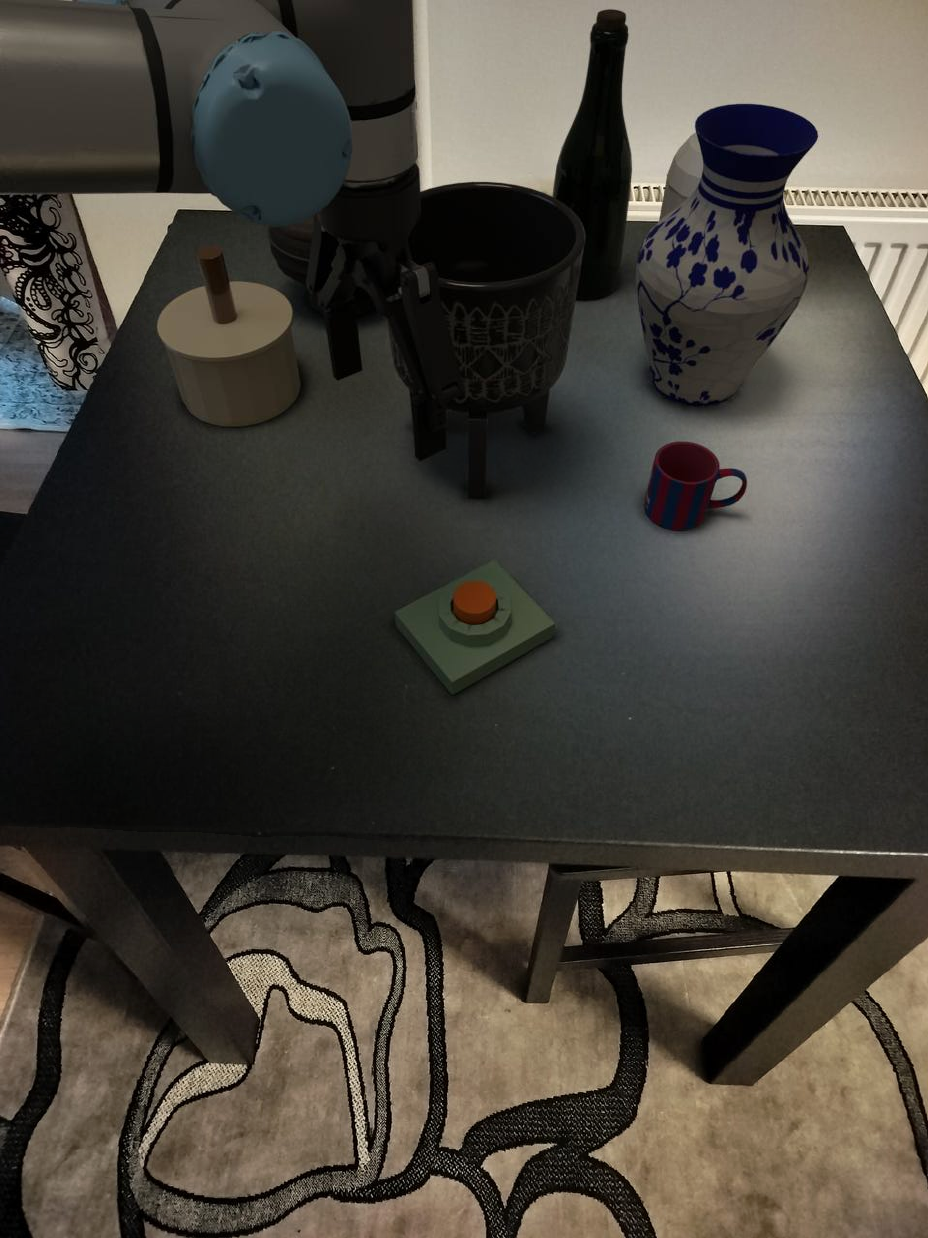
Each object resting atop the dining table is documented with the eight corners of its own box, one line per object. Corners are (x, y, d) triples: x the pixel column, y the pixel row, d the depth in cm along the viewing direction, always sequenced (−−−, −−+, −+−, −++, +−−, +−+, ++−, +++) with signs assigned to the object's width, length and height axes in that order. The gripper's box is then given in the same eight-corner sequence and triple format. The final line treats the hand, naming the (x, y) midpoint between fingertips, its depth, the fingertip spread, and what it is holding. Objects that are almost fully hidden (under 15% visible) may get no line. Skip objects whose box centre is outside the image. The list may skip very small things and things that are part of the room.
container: (742, 304, 120) (784, 155, 104) (645, 293, 121) (672, 144, 106) (744, 255, 128) (783, 109, 112) (653, 245, 129) (679, 100, 114)
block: (452, 695, 80) (451, 671, 77) (395, 625, 85) (392, 600, 82) (553, 636, 84) (557, 611, 81) (493, 573, 89) (494, 547, 86)
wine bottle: (617, 263, 126) (656, -3, 100) (618, 303, 120) (660, 30, 94) (546, 260, 127) (567, -6, 101) (542, 299, 120) (564, 26, 94)
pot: (267, 266, 125) (253, 119, 109) (389, 261, 128) (392, 119, 113) (280, 339, 114) (266, 188, 98) (412, 332, 118) (419, 185, 102)
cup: (648, 483, 97) (659, 436, 92) (738, 500, 96) (754, 453, 90) (639, 523, 93) (650, 477, 88) (732, 542, 92) (749, 495, 86)
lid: (192, 383, 94) (170, 307, 87) (139, 316, 102) (114, 242, 95) (317, 336, 100) (306, 261, 93) (257, 276, 108) (243, 203, 100)
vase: (725, 326, 116) (791, 80, 93) (798, 411, 105) (894, 156, 81) (595, 350, 113) (629, 101, 89) (656, 441, 102) (713, 184, 78)
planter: (361, 466, 99) (333, 247, 78) (452, 377, 109) (448, 163, 89) (508, 530, 93) (521, 310, 72) (590, 429, 103) (621, 212, 82)
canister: (213, 442, 102) (193, 375, 94) (164, 380, 109) (142, 313, 102) (321, 398, 107) (310, 331, 99) (268, 341, 114) (254, 275, 107)
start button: (469, 631, 80) (469, 620, 78) (445, 604, 82) (445, 592, 80) (504, 612, 81) (504, 600, 80) (479, 586, 83) (479, 574, 82)
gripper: (518, 221, 54) (506, 472, 71) (322, 91, 67) (351, 331, 84) (420, 257, 52) (431, 509, 69) (235, 115, 64) (282, 358, 81)
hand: (387, 411), depth 76 cm, fingers open, 13 cm apart
